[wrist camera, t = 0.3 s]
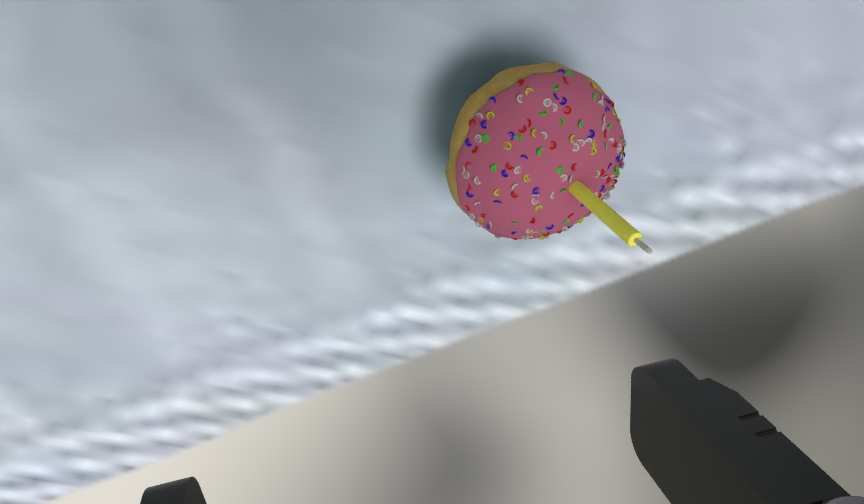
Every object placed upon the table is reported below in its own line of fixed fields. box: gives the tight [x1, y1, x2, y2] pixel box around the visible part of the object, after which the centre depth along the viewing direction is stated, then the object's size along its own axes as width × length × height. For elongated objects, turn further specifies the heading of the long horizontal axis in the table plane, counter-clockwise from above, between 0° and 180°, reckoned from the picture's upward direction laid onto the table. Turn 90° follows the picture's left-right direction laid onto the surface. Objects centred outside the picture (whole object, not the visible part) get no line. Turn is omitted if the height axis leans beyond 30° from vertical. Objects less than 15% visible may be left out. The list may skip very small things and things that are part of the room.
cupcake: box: [446, 62, 652, 254], centre depth 28 cm, size 9×8×12 cm
